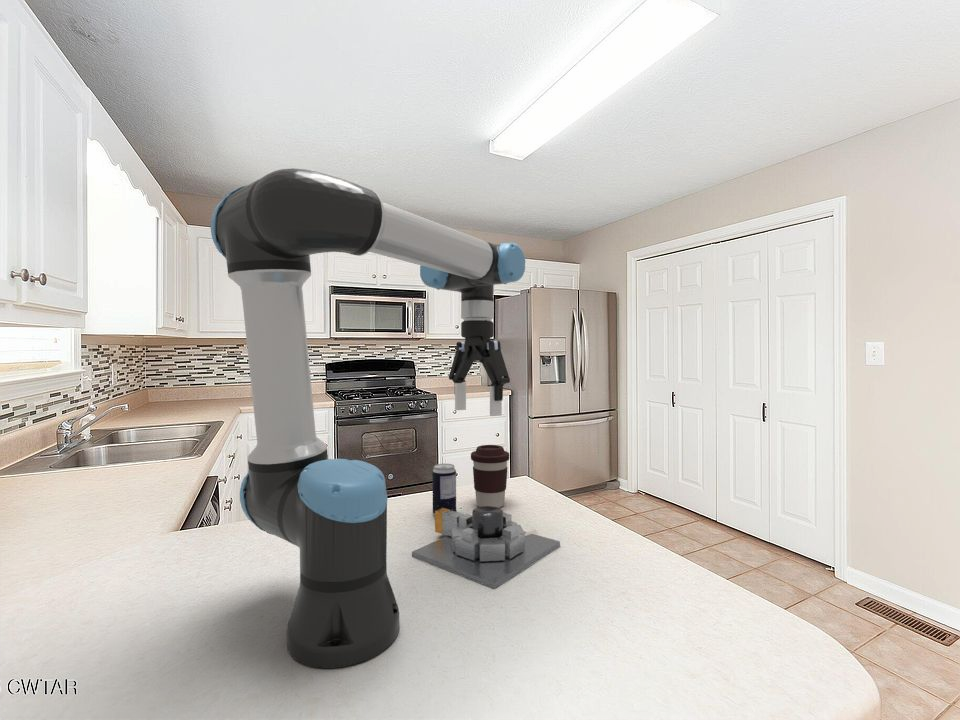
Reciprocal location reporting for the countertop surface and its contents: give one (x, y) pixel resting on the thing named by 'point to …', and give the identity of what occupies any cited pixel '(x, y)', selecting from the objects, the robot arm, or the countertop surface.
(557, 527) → the countertop surface
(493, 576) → the flange plate
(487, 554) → the segmented block ring
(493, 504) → the coffee cup
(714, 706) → the countertop surface
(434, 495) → the beverage can
